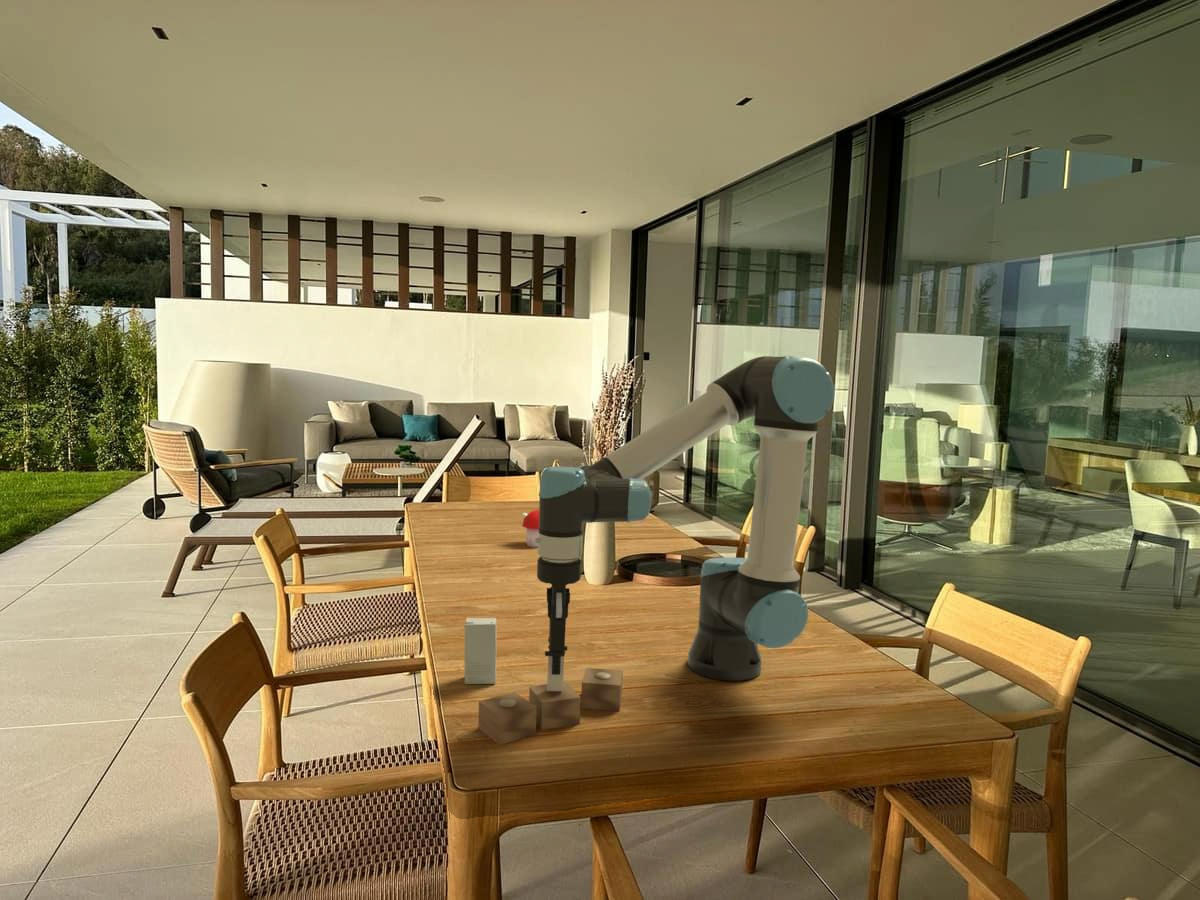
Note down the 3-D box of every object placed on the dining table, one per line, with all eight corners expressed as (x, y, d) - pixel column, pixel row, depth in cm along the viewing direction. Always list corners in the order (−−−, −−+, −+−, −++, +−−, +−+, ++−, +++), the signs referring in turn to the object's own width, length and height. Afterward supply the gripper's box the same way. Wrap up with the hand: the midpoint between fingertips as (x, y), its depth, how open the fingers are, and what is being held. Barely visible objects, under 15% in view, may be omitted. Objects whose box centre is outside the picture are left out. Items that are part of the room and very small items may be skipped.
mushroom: (518, 541, 272) (519, 507, 271) (549, 540, 275) (550, 506, 274) (524, 549, 262) (525, 513, 261) (557, 548, 265) (558, 512, 264)
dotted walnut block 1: (513, 719, 140) (514, 690, 139) (535, 735, 134) (536, 705, 133) (478, 729, 135) (478, 700, 135) (499, 746, 130) (500, 715, 129)
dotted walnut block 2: (621, 695, 151) (622, 669, 150) (619, 711, 144) (620, 684, 144) (585, 693, 152) (586, 666, 151) (580, 709, 145) (581, 681, 144)
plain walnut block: (565, 708, 145) (566, 681, 144) (579, 725, 138) (580, 697, 138) (528, 713, 142) (529, 686, 142) (541, 730, 136) (542, 702, 135)
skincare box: (496, 676, 158) (497, 616, 156) (495, 685, 153) (497, 624, 152) (464, 676, 157) (466, 616, 156) (463, 685, 152) (464, 624, 151)
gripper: (537, 547, 143) (533, 674, 146) (537, 566, 130) (533, 705, 133) (579, 548, 144) (574, 674, 146) (583, 567, 131) (578, 705, 133)
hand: (554, 689), depth 140 cm, fingers closed
